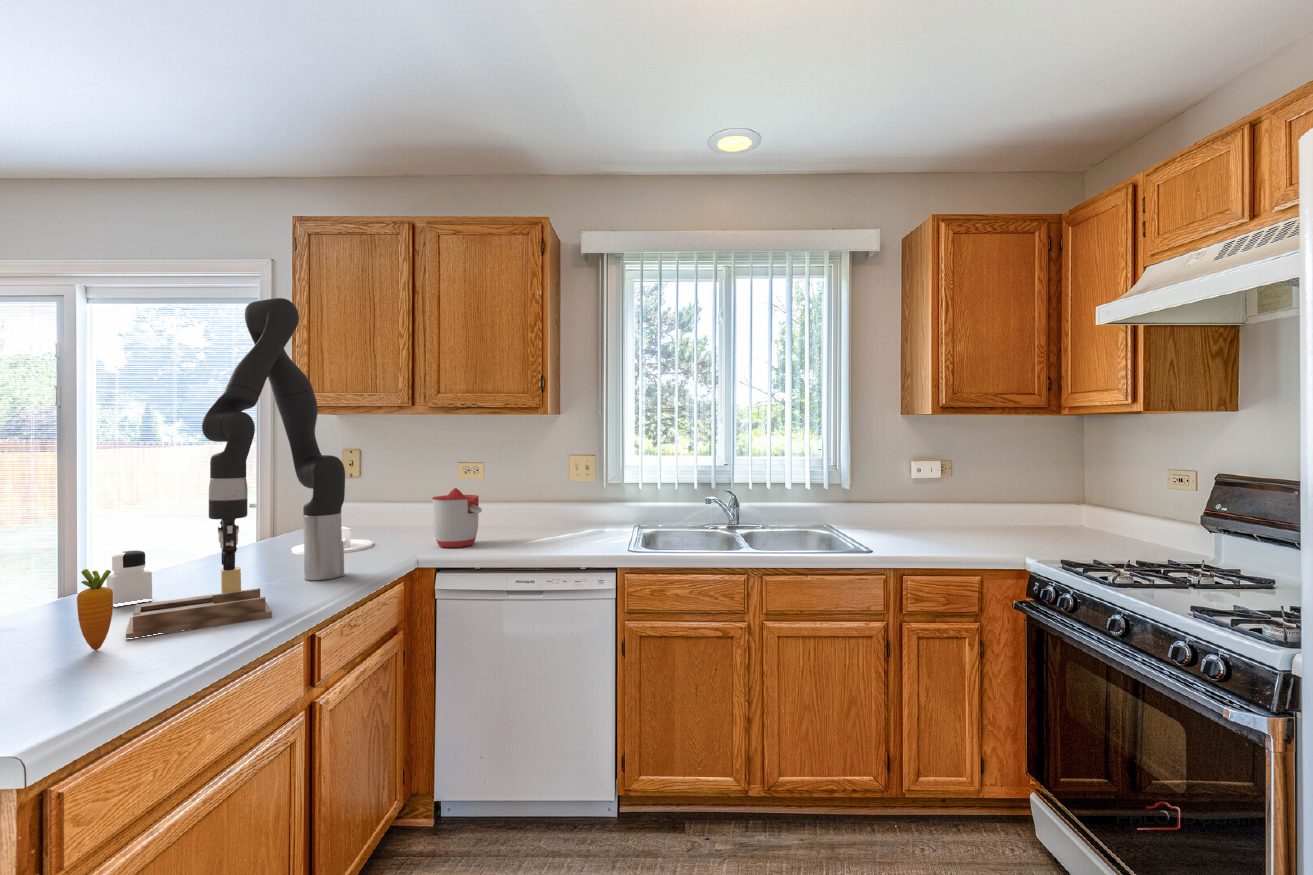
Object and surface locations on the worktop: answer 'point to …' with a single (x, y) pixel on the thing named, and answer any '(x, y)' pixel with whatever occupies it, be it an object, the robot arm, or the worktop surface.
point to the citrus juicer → (455, 519)
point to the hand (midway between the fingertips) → (228, 567)
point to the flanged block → (231, 580)
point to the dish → (349, 543)
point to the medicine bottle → (129, 577)
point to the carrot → (95, 608)
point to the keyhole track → (197, 612)
